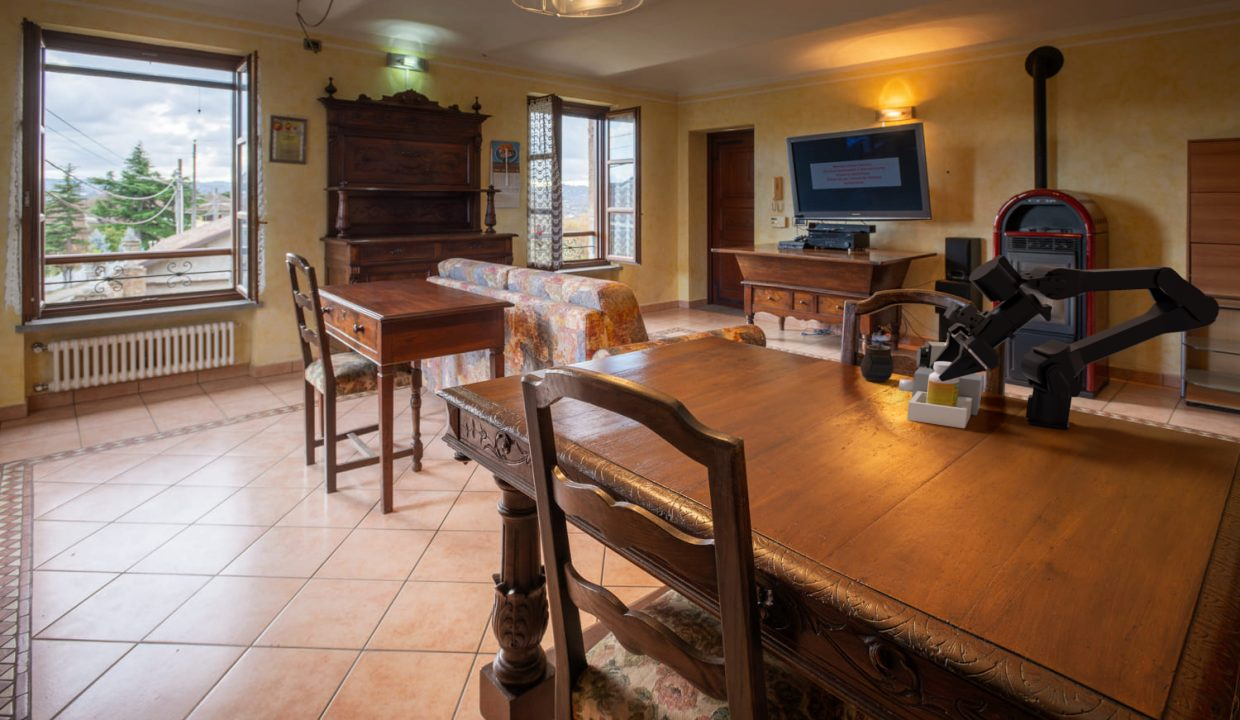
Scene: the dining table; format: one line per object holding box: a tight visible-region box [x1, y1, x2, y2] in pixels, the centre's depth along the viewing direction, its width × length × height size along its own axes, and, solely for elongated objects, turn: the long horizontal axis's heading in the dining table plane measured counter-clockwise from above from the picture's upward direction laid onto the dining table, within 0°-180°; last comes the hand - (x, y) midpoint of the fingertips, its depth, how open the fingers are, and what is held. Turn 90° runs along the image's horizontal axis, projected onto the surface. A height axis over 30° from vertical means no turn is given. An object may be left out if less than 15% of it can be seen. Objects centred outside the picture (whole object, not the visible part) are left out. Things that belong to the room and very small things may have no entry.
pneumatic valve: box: [916, 341, 947, 369], centre depth 153 cm, size 6×12×12 cm, turn 77°
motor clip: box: [898, 367, 984, 429], centre depth 138 cm, size 15×16×7 cm
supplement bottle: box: [926, 361, 959, 407], centre depth 134 cm, size 5×5×10 cm
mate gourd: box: [860, 341, 895, 383], centre depth 164 cm, size 7×8×10 cm
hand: (935, 374), depth 134 cm, fingers open, 9 cm apart
